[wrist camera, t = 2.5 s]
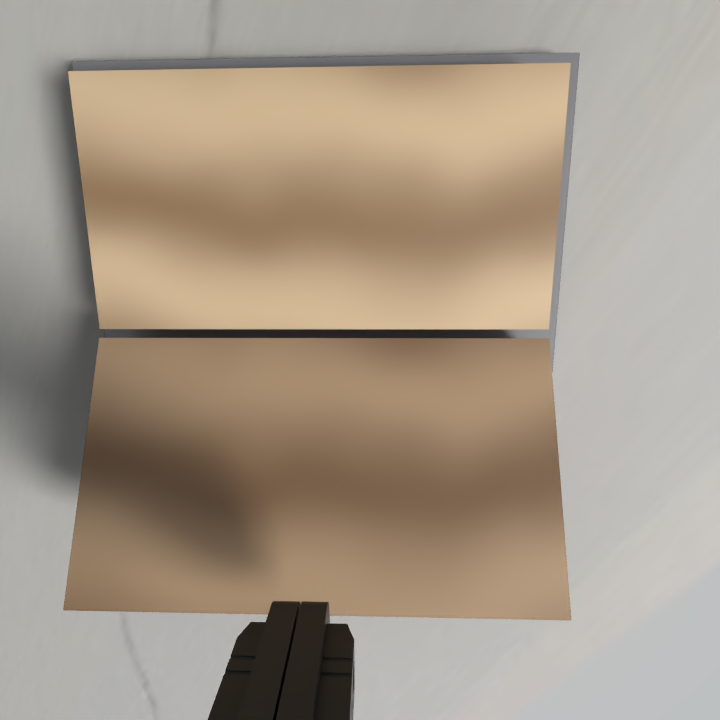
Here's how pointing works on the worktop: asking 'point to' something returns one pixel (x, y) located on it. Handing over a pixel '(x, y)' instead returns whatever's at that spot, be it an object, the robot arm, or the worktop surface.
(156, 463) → the brown wooden board
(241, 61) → the gray flat board
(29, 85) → the worktop surface
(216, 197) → the oak plank
